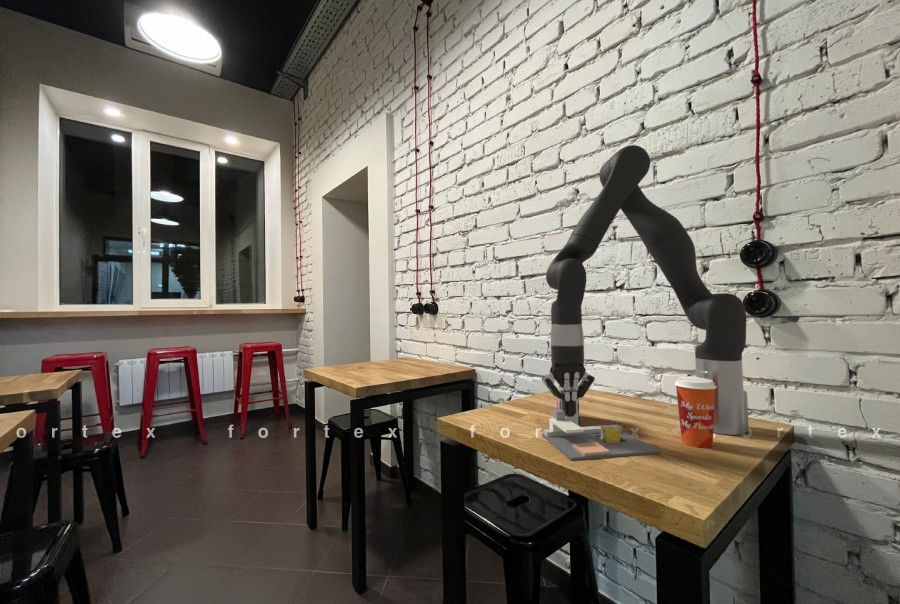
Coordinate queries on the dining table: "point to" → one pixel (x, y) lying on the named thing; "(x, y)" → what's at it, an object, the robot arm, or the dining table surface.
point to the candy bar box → (576, 416)
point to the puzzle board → (596, 444)
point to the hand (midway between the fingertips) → (569, 415)
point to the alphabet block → (610, 434)
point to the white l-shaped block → (563, 423)
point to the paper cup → (696, 410)
